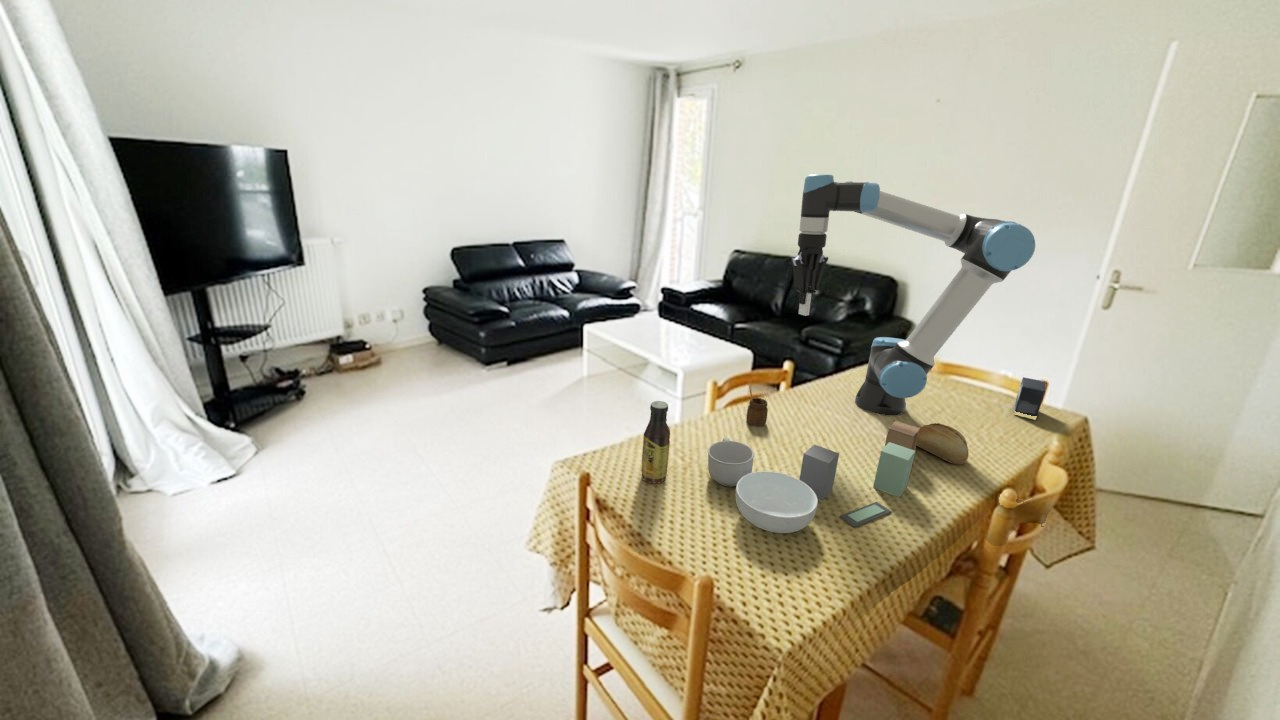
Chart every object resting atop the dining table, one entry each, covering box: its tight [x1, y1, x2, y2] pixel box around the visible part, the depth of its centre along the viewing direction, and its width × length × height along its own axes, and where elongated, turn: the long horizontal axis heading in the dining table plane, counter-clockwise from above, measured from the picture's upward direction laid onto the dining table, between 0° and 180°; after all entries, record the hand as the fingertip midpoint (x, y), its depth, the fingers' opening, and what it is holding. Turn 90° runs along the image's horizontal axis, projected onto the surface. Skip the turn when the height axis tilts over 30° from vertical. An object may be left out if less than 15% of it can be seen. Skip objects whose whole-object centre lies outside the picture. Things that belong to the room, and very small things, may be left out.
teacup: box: [707, 436, 755, 487], centre depth 127 cm, size 14×11×8 cm
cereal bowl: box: [735, 470, 819, 534], centre depth 111 cm, size 17×17×7 cm
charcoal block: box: [799, 444, 840, 502], centre depth 122 cm, size 6×6×10 cm
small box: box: [1013, 377, 1046, 417], centre depth 169 cm, size 11×6×10 cm, turn 144°
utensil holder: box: [745, 384, 771, 427], centre depth 155 cm, size 6×6×12 cm
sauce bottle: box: [640, 400, 671, 484], centre depth 123 cm, size 7×6×20 cm
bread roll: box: [916, 422, 970, 465], centre depth 142 cm, size 10×15×8 cm, turn 35°
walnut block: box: [884, 420, 920, 451], centre depth 136 cm, size 6×6×10 cm
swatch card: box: [839, 501, 892, 529], centre depth 115 cm, size 12×4×1 cm, turn 119°
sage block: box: [873, 442, 916, 498], centre depth 125 cm, size 6×6×10 cm
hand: (803, 314), depth 154 cm, fingers closed
